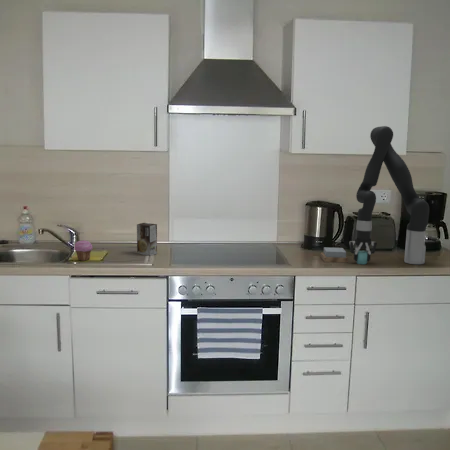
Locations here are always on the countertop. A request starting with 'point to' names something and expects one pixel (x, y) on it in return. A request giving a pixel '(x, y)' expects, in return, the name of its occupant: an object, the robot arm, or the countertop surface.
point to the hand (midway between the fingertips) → (361, 261)
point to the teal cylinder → (362, 257)
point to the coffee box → (147, 239)
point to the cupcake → (83, 250)
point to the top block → (334, 252)
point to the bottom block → (332, 258)
